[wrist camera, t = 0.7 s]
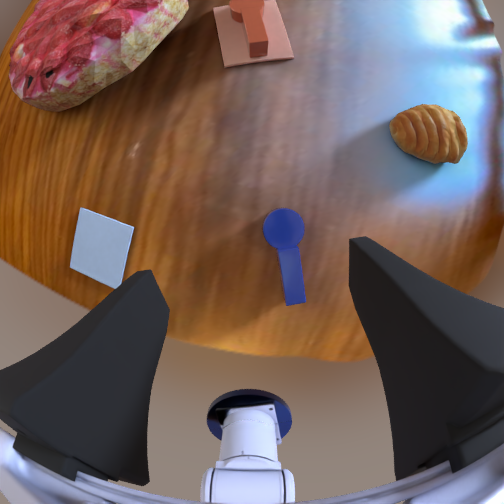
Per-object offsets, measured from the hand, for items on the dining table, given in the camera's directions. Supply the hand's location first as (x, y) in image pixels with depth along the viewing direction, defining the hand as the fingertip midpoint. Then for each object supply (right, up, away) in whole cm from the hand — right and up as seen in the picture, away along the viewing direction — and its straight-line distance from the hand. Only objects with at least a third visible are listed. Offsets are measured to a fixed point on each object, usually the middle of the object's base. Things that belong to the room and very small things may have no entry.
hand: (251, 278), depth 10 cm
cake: (-19, +29, +11) cm, 36 cm away
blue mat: (-16, +1, +16) cm, 23 cm away
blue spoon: (+3, +1, +16) cm, 17 cm away
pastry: (+19, +14, +14) cm, 27 cm away
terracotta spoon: (0, +24, +12) cm, 27 cm away
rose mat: (0, +24, +12) cm, 27 cm away
